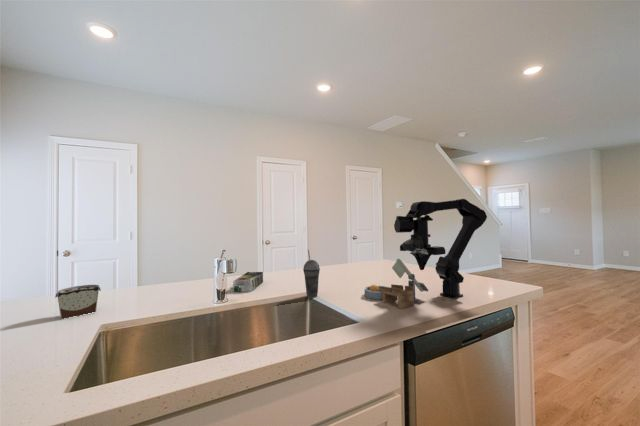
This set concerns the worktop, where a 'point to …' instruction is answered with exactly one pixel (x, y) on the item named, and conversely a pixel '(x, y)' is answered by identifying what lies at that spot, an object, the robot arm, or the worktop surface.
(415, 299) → the lever post
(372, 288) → the ball
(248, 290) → the juice carton
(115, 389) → the worktop surface
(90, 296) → the food container
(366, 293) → the bowl
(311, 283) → the beverage cup
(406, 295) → the ramp
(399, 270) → the lever
